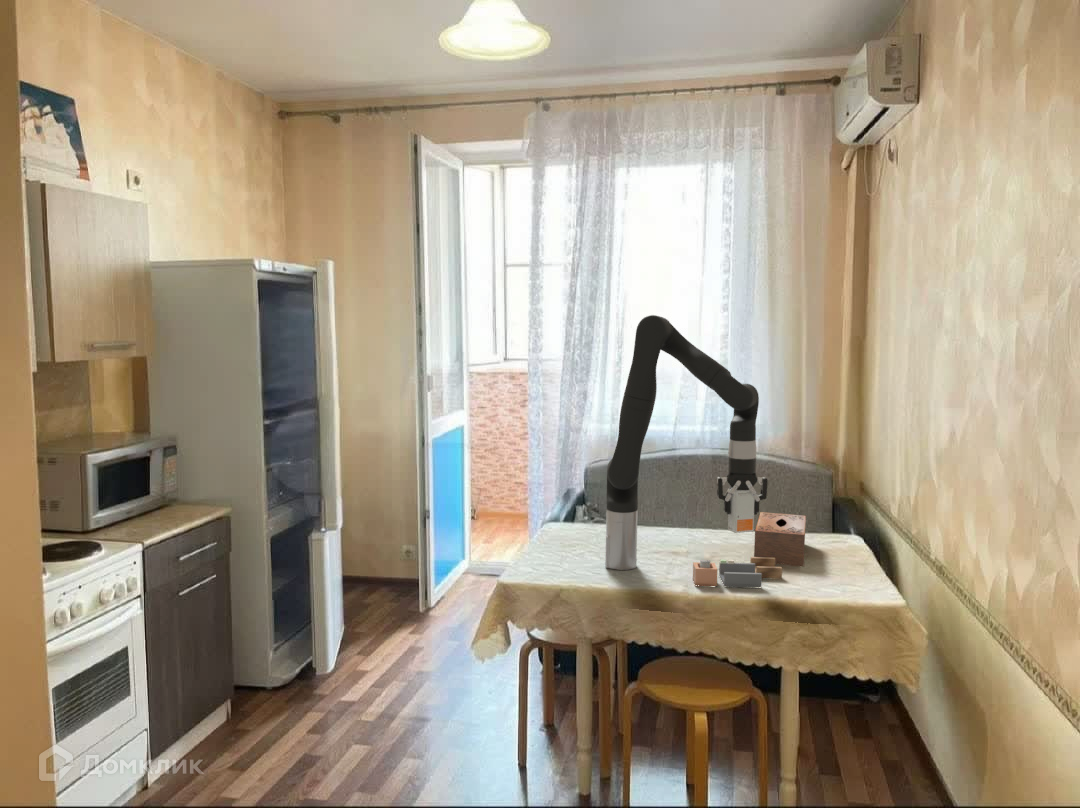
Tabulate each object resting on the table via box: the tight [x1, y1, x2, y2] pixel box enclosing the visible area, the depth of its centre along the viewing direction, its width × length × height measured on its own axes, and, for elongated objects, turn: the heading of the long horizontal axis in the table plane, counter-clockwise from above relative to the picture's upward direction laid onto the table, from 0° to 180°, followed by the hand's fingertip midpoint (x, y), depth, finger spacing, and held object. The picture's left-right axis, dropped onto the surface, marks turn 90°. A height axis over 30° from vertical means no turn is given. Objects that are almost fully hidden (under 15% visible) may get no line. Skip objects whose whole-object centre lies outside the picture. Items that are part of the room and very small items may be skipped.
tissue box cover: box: [753, 511, 807, 568], centre depth 262 cm, size 26×14×10 cm, turn 162°
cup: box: [692, 558, 719, 587], centre depth 232 cm, size 6×6×6 cm
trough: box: [749, 556, 783, 580], centre depth 241 cm, size 7×10×3 cm
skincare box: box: [727, 489, 755, 534], centre depth 232 cm, size 6×4×12 cm
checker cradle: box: [718, 559, 763, 588], centre depth 233 cm, size 10×10×5 cm
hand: (741, 513), depth 232 cm, fingers closed on skincare box, 7 cm apart
